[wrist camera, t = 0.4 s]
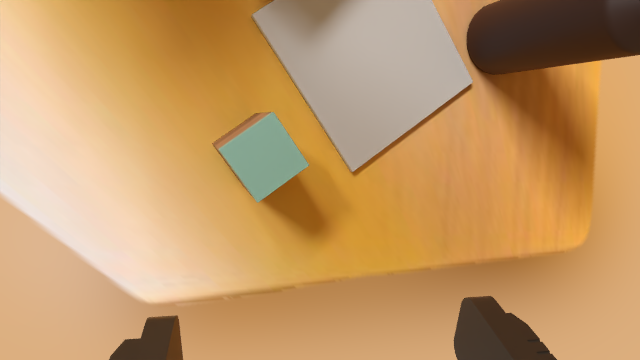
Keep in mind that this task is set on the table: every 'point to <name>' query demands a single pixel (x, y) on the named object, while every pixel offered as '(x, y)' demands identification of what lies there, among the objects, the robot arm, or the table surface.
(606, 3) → the bottle
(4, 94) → the table surface
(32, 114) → the table surface
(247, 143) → the walnut block
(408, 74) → the rubber mat
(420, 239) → the table surface
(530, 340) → the robot arm
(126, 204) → the table surface
